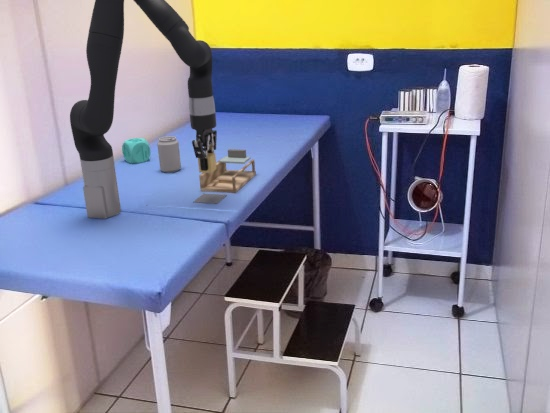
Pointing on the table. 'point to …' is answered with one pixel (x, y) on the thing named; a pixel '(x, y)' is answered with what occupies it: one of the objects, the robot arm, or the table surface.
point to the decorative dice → (136, 150)
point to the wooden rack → (226, 178)
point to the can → (169, 154)
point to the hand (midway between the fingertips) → (207, 167)
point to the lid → (235, 157)
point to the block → (209, 163)
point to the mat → (210, 198)
